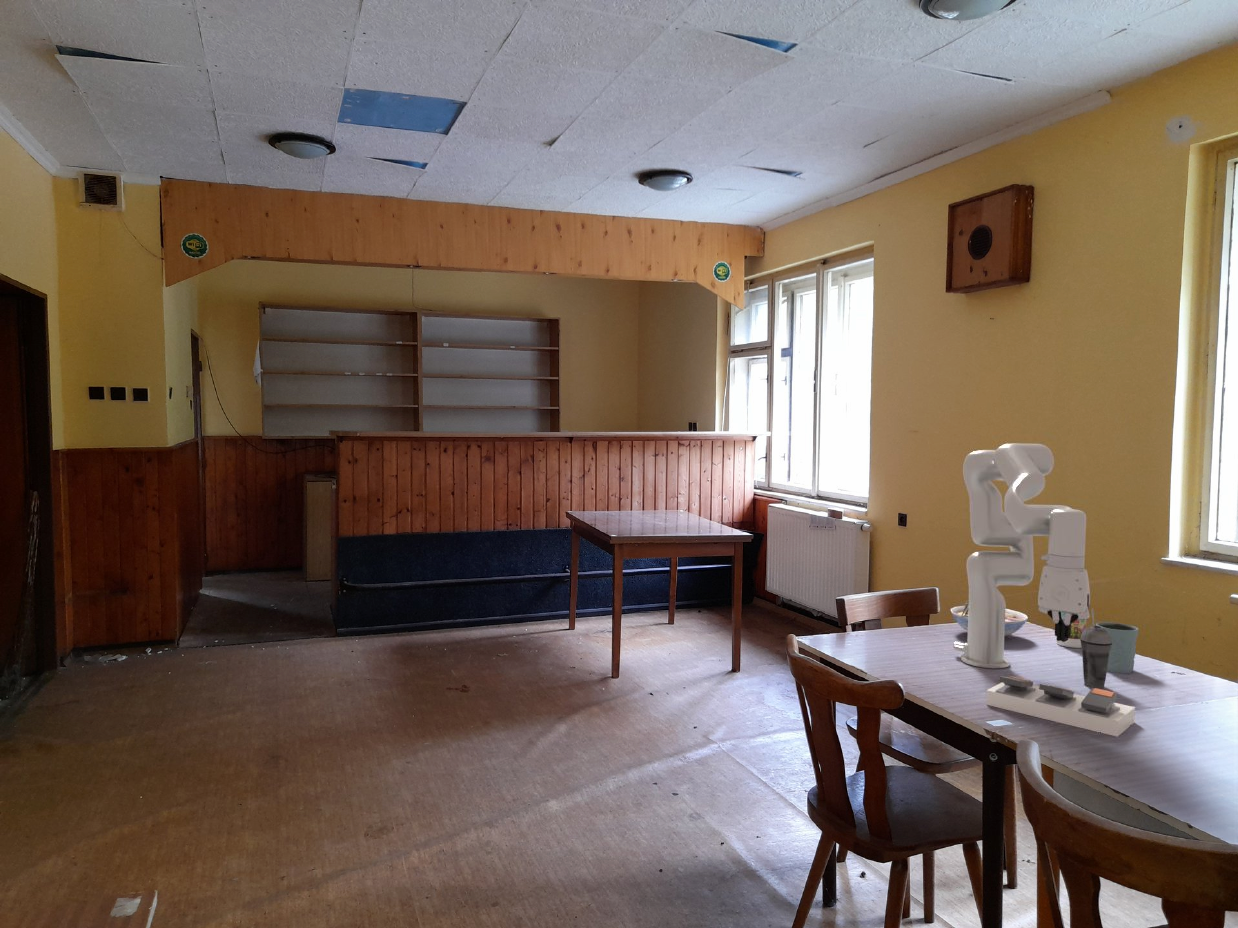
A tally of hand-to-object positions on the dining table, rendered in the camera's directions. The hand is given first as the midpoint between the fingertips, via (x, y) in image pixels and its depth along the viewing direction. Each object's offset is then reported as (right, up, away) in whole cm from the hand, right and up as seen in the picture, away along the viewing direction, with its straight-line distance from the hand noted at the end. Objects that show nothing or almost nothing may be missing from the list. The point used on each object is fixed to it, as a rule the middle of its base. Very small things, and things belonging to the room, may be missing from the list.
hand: (1062, 640), depth 197 cm
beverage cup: (+20, -17, +22) cm, 34 cm away
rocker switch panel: (-1, -17, 0) cm, 17 cm away
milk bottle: (+35, -15, +63) cm, 73 cm away
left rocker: (-9, -12, +5) cm, 15 cm away
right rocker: (+4, -12, -8) cm, 15 cm away
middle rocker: (-2, -12, -2) cm, 12 cm away
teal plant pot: (+35, -16, +38) cm, 54 cm away
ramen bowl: (+14, -14, +73) cm, 75 cm away
